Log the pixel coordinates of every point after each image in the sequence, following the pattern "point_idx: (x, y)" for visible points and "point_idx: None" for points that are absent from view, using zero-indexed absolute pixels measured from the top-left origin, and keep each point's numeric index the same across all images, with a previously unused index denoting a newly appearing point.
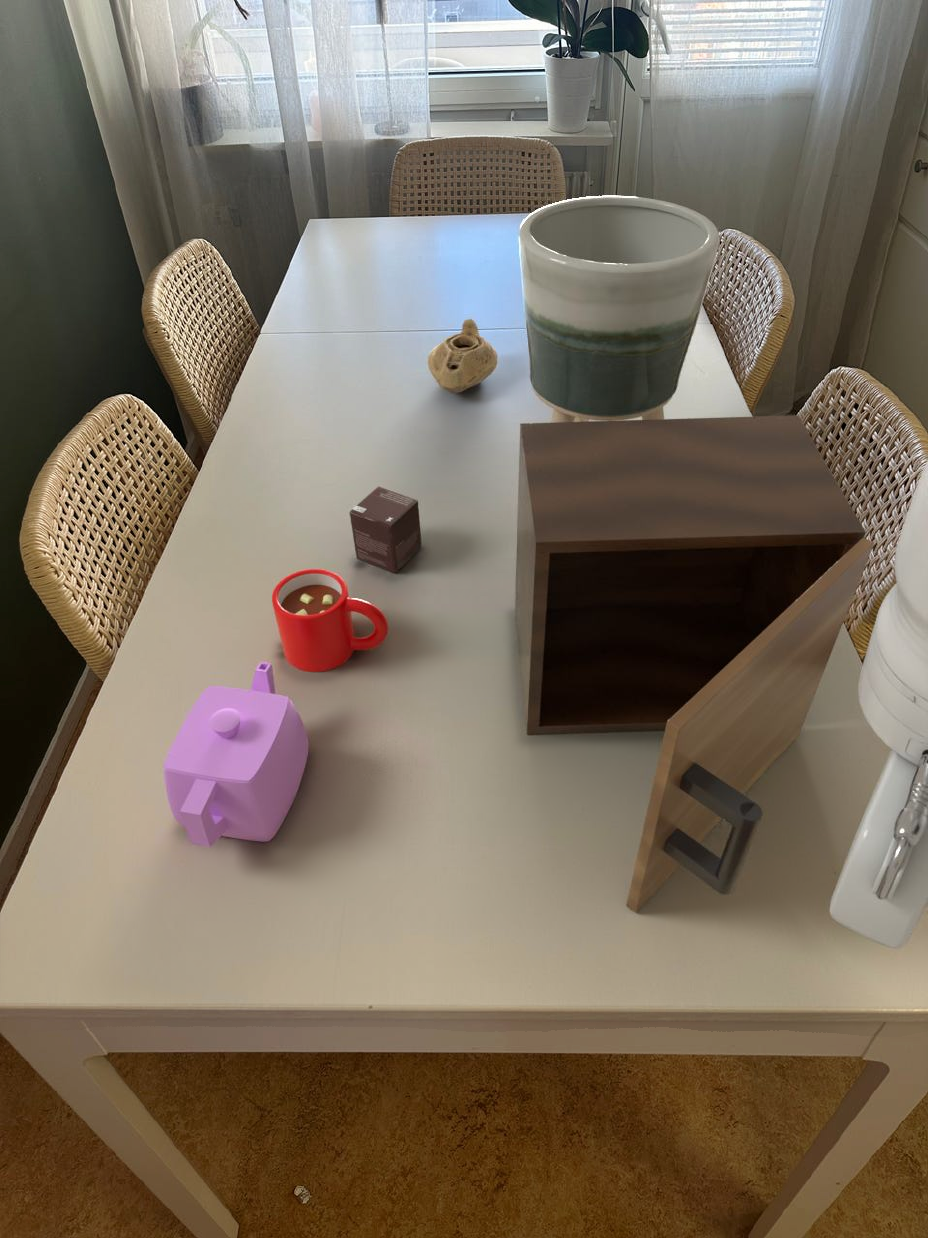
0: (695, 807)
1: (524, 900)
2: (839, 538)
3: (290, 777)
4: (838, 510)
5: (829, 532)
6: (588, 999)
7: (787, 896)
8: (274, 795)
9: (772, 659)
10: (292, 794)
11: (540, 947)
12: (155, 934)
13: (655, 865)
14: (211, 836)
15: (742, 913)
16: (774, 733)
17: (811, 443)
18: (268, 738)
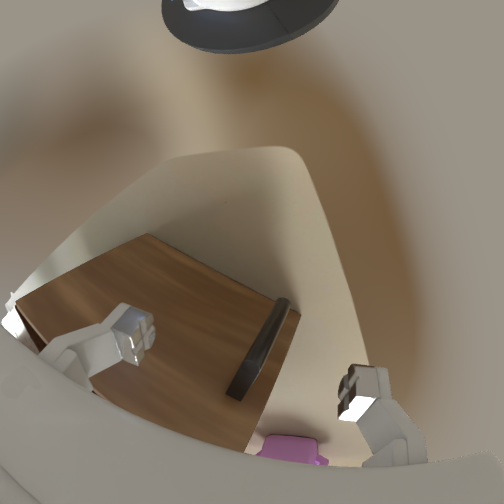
0: (236, 332)
1: (312, 363)
2: (25, 320)
3: (289, 449)
4: (15, 318)
5: (26, 329)
6: (358, 329)
7: (254, 229)
8: (301, 454)
9: (118, 372)
10: (294, 442)
11: (336, 353)
12: (360, 452)
13: (280, 334)
14: (325, 462)
15: (277, 255)
16: (156, 272)
17: (4, 319)
18: None
